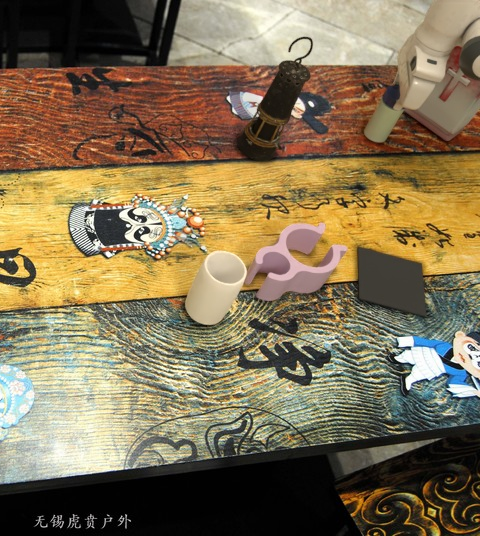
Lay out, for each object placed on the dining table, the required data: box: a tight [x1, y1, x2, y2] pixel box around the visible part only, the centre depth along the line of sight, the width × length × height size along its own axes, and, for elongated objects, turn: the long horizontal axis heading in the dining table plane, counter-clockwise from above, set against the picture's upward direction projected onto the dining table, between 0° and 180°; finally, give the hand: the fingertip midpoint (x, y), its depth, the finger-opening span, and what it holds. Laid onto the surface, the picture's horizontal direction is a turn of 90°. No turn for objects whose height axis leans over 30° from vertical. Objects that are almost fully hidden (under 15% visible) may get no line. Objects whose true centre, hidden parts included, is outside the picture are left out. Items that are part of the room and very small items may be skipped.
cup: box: [184, 250, 248, 326], centre depth 136 cm, size 8×8×14 cm
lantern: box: [237, 36, 314, 162], centre depth 160 cm, size 9×9×30 cm
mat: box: [357, 246, 427, 318], centre depth 153 cm, size 14×14×1 cm
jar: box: [363, 98, 405, 143], centre depth 176 cm, size 6×6×12 cm
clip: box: [243, 222, 348, 302], centre depth 148 cm, size 20×12×7 cm, turn 122°
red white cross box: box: [403, 46, 480, 142], centre depth 175 cm, size 14×10×30 cm
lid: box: [381, 85, 405, 110], centre depth 172 cm, size 6×6×2 cm
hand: (395, 98), depth 172 cm, fingers closed on lid, 6 cm apart
